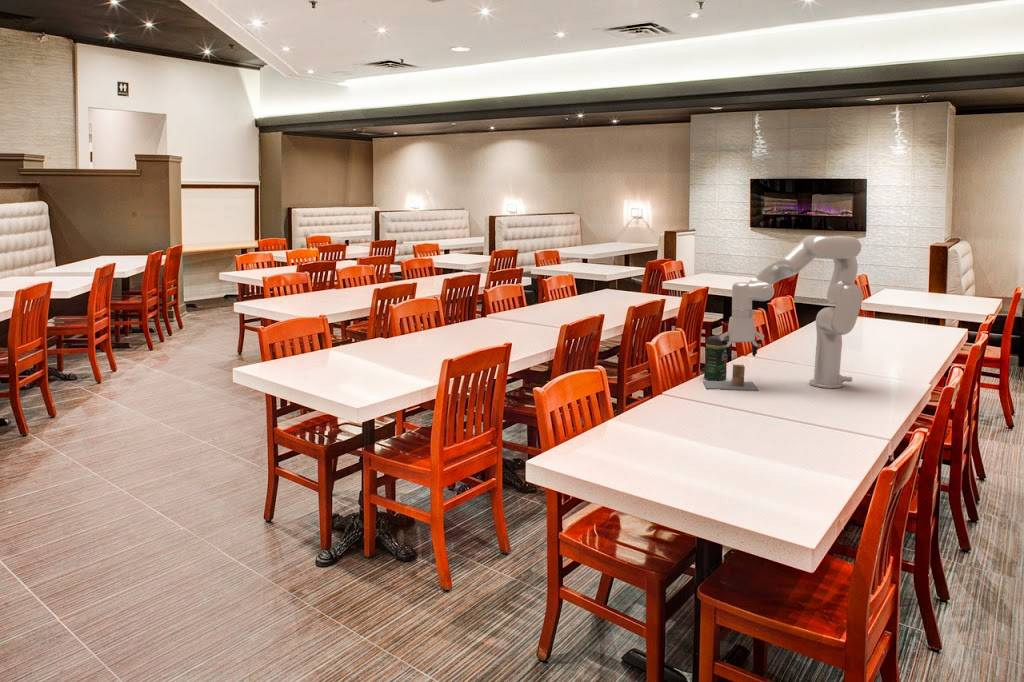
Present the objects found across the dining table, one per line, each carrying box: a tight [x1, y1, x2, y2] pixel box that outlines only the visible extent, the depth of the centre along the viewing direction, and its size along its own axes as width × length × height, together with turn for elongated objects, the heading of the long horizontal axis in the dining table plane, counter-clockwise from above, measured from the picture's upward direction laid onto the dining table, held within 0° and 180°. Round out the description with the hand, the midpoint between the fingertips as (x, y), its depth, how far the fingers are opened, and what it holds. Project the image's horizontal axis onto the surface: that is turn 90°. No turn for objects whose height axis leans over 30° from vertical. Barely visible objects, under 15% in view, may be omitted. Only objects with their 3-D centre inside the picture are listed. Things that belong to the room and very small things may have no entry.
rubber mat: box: [702, 380, 759, 392], centre depth 304 cm, size 20×13×1 cm, turn 83°
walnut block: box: [731, 364, 746, 386], centre depth 303 cm, size 4×4×8 cm
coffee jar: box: [703, 334, 729, 381], centre depth 315 cm, size 10×8×19 cm
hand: (741, 356), depth 301 cm, fingers open, 9 cm apart
